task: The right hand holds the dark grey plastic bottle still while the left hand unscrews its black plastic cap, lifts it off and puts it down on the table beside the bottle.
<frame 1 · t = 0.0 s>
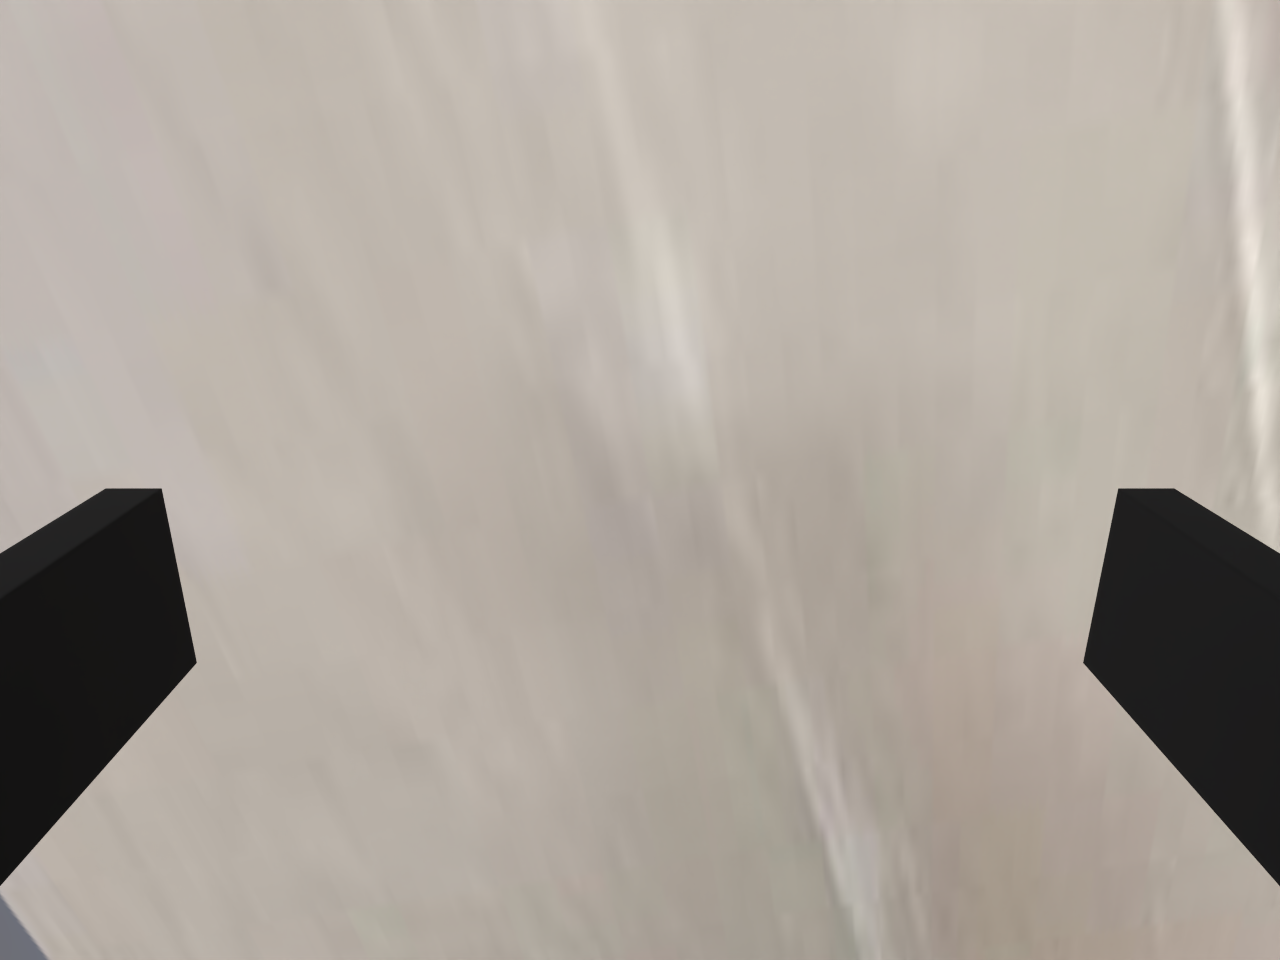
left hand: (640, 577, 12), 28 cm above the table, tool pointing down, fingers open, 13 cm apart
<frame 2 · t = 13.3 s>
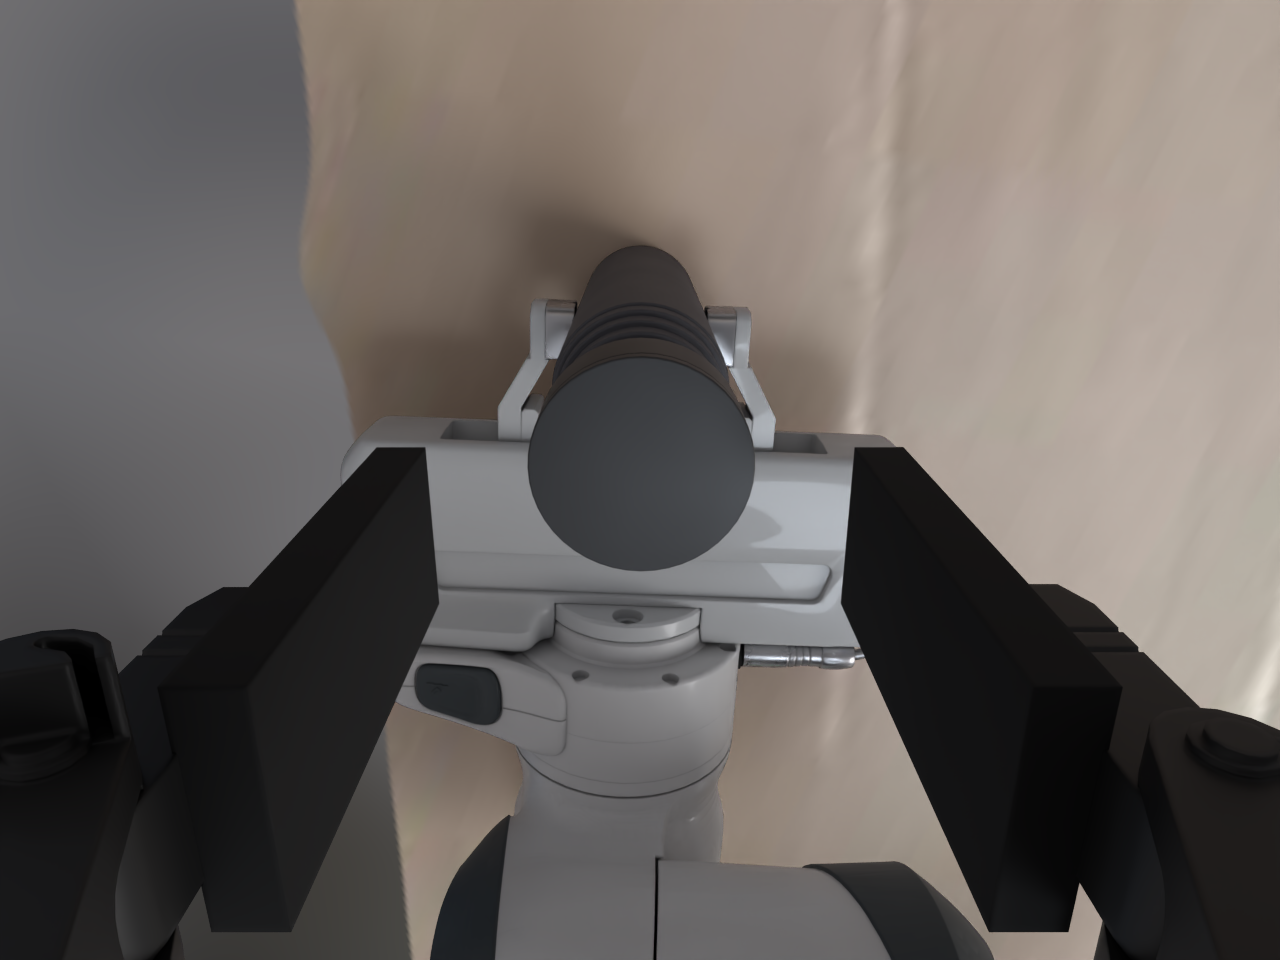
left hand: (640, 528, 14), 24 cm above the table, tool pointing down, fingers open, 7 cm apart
cap: (641, 463, 17), point 20 cm above the table, screwed on, not yet turned
bottle: (640, 301, 36), on the table, touching right hand
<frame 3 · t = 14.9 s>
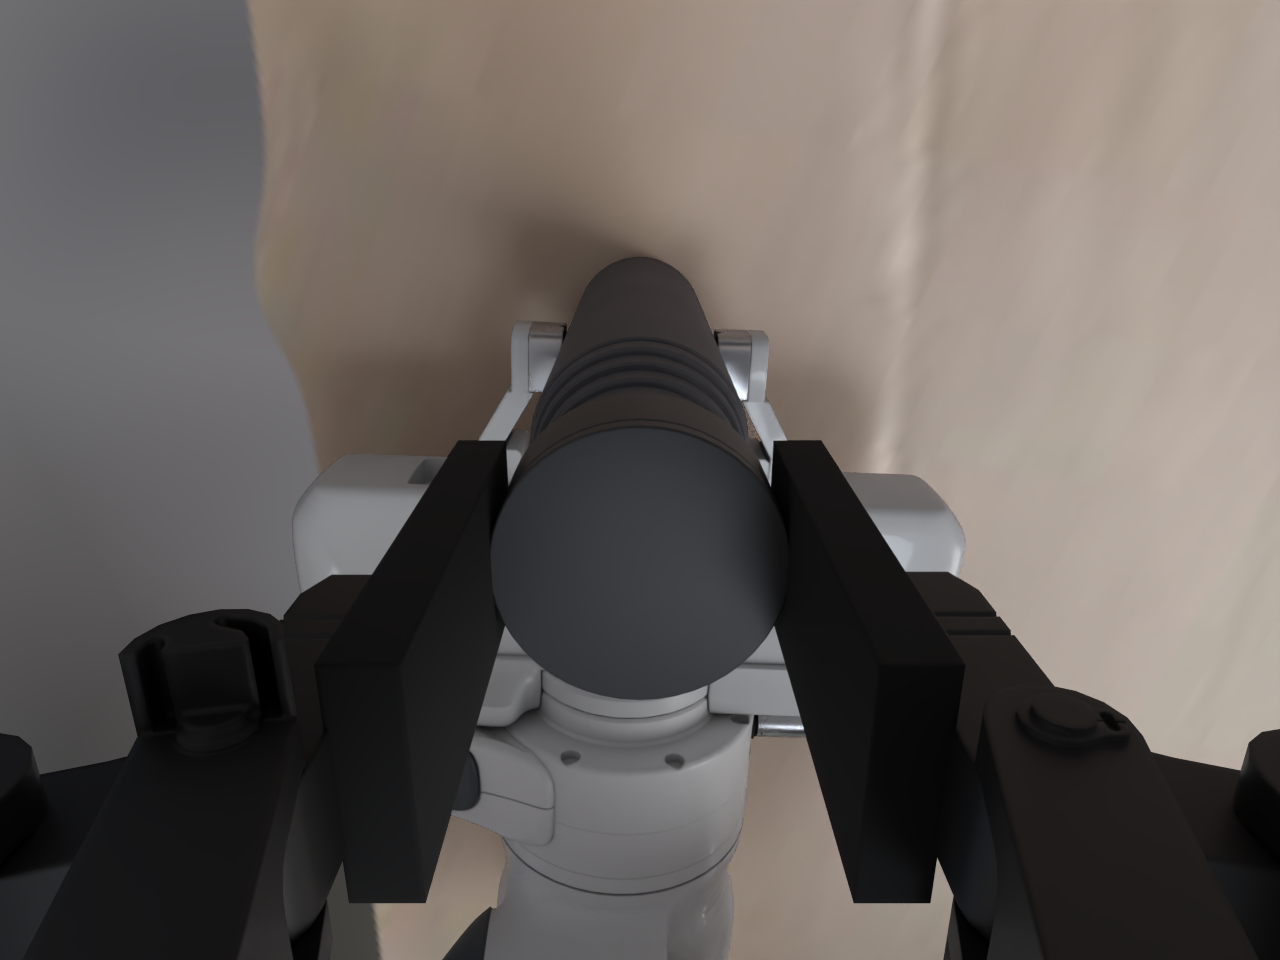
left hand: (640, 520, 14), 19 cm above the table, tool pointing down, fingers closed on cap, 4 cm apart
cap: (639, 562, 13), point 20 cm above the table, screwed on, not yet turned, touching left hand
bottle: (639, 320, 32), on the table, touching right hand
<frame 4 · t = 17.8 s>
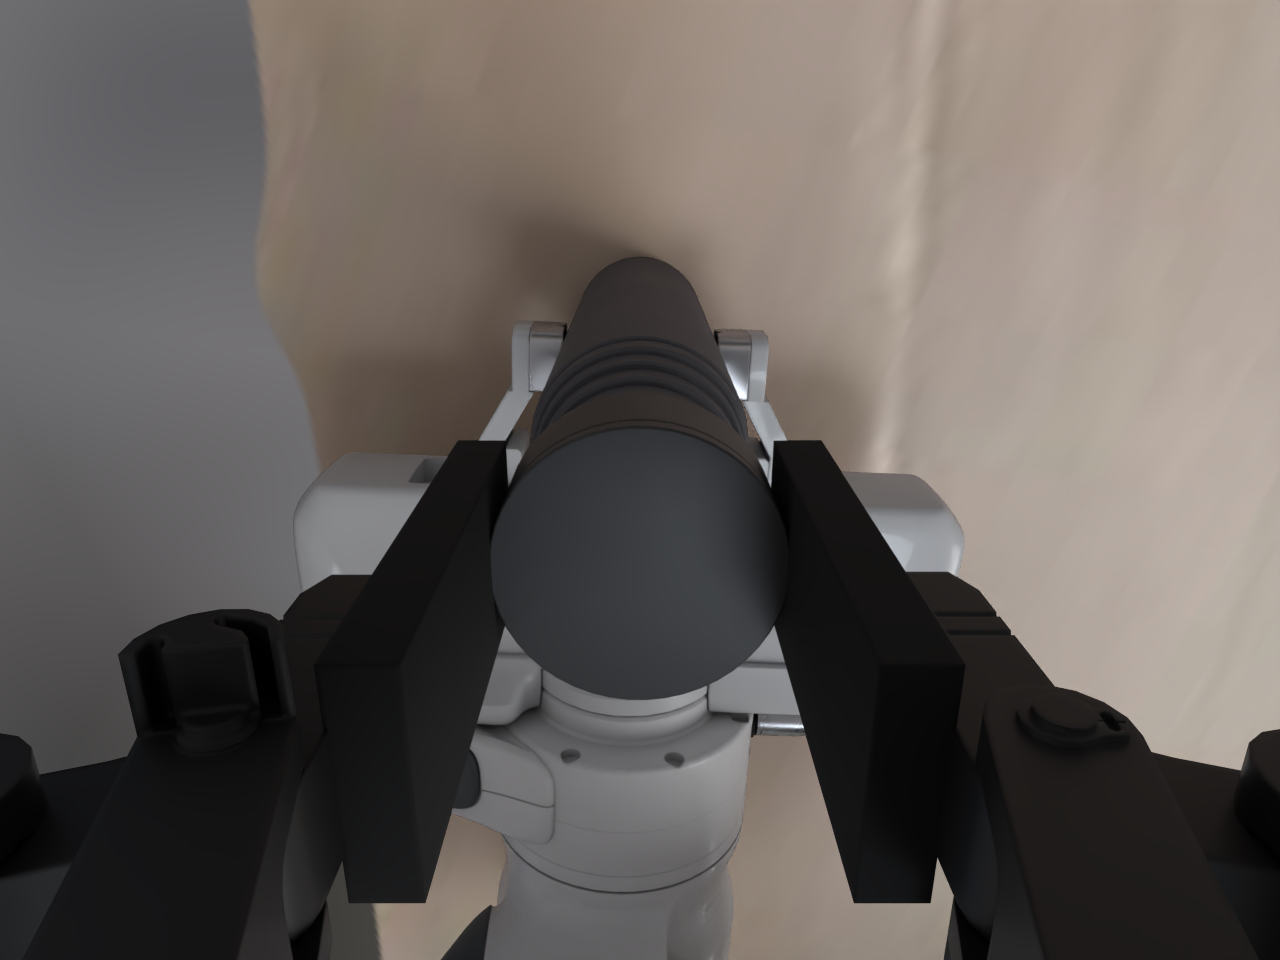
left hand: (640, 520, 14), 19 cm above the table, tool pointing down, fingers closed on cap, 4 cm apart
cap: (639, 562, 13), point 21 cm above the table, turned 78° so far, risen 0.1 cm, still on its thread, touching left hand
bottle: (639, 319, 32), on the table, touching right hand
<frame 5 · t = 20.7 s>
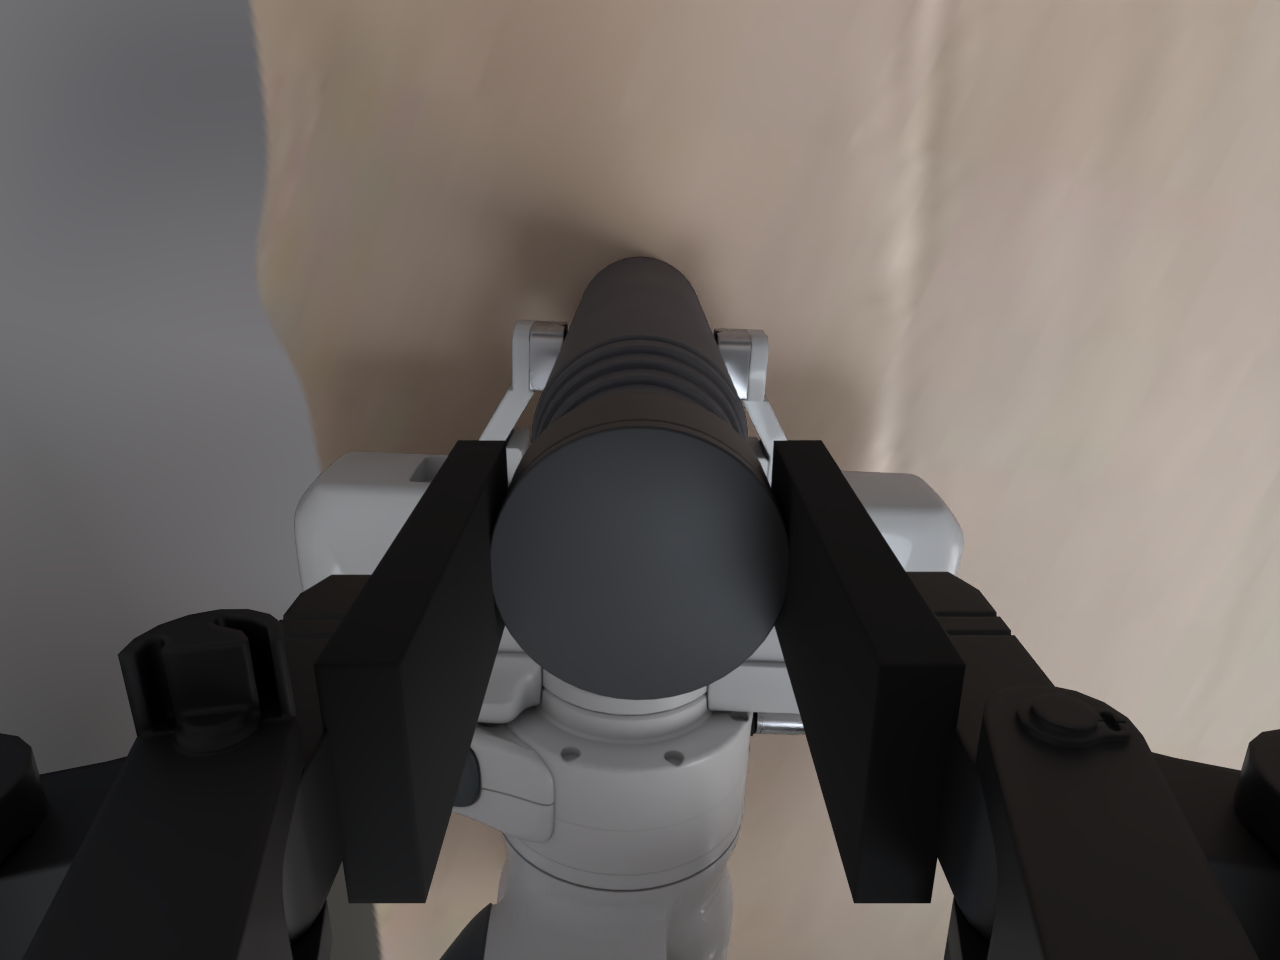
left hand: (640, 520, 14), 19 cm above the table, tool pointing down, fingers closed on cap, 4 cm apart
cap: (639, 562, 13), point 21 cm above the table, turned 156° so far, risen 0.2 cm, still on its thread, touching left hand
bottle: (639, 319, 32), on the table, touching right hand
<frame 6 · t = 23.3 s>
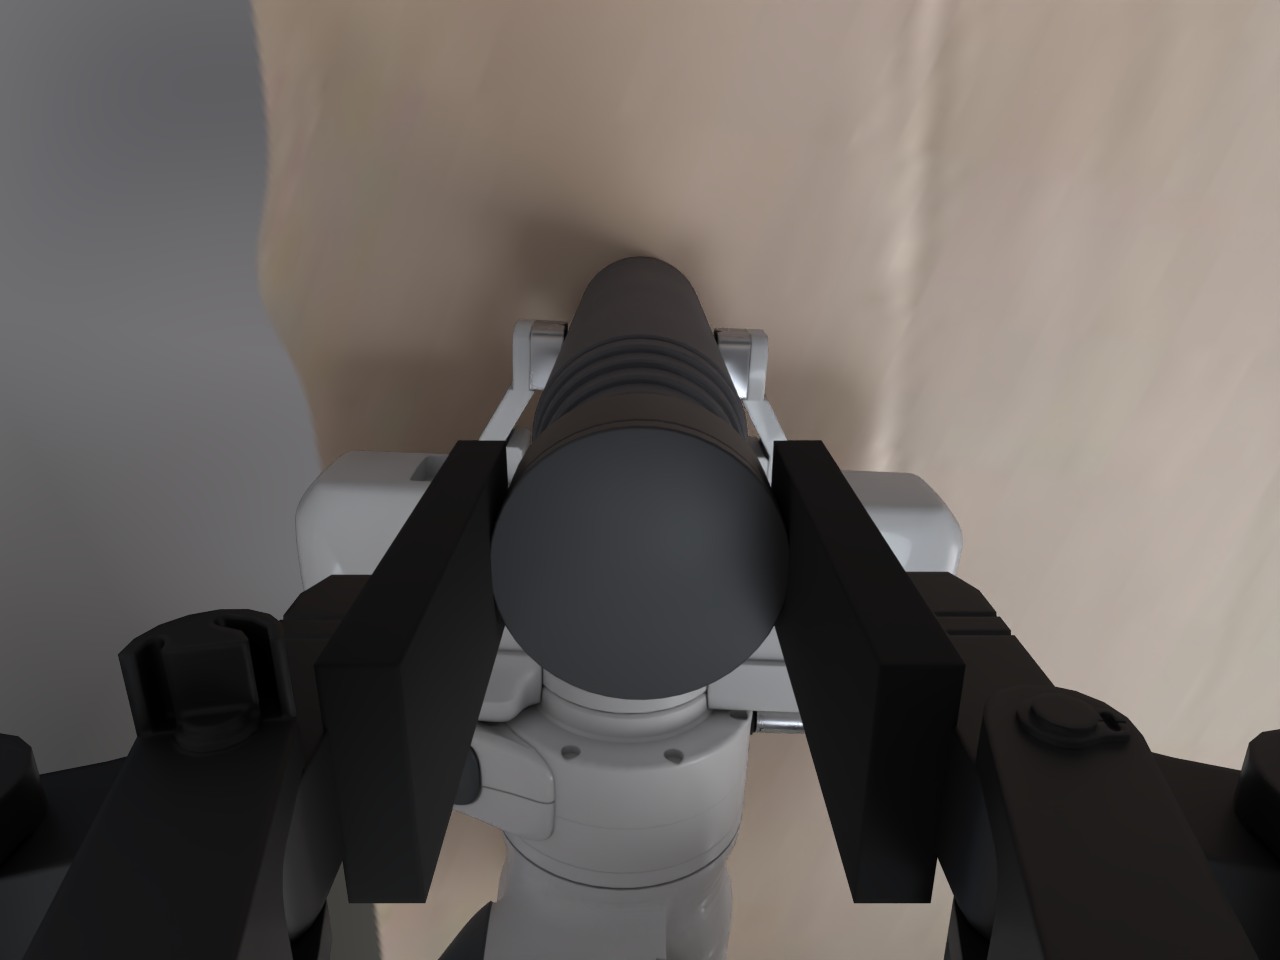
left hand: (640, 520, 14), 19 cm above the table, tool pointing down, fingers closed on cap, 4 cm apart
cap: (639, 562, 13), point 21 cm above the table, turned 235° so far, risen 0.2 cm, still on its thread, touching left hand
bottle: (639, 319, 32), on the table, touching right hand
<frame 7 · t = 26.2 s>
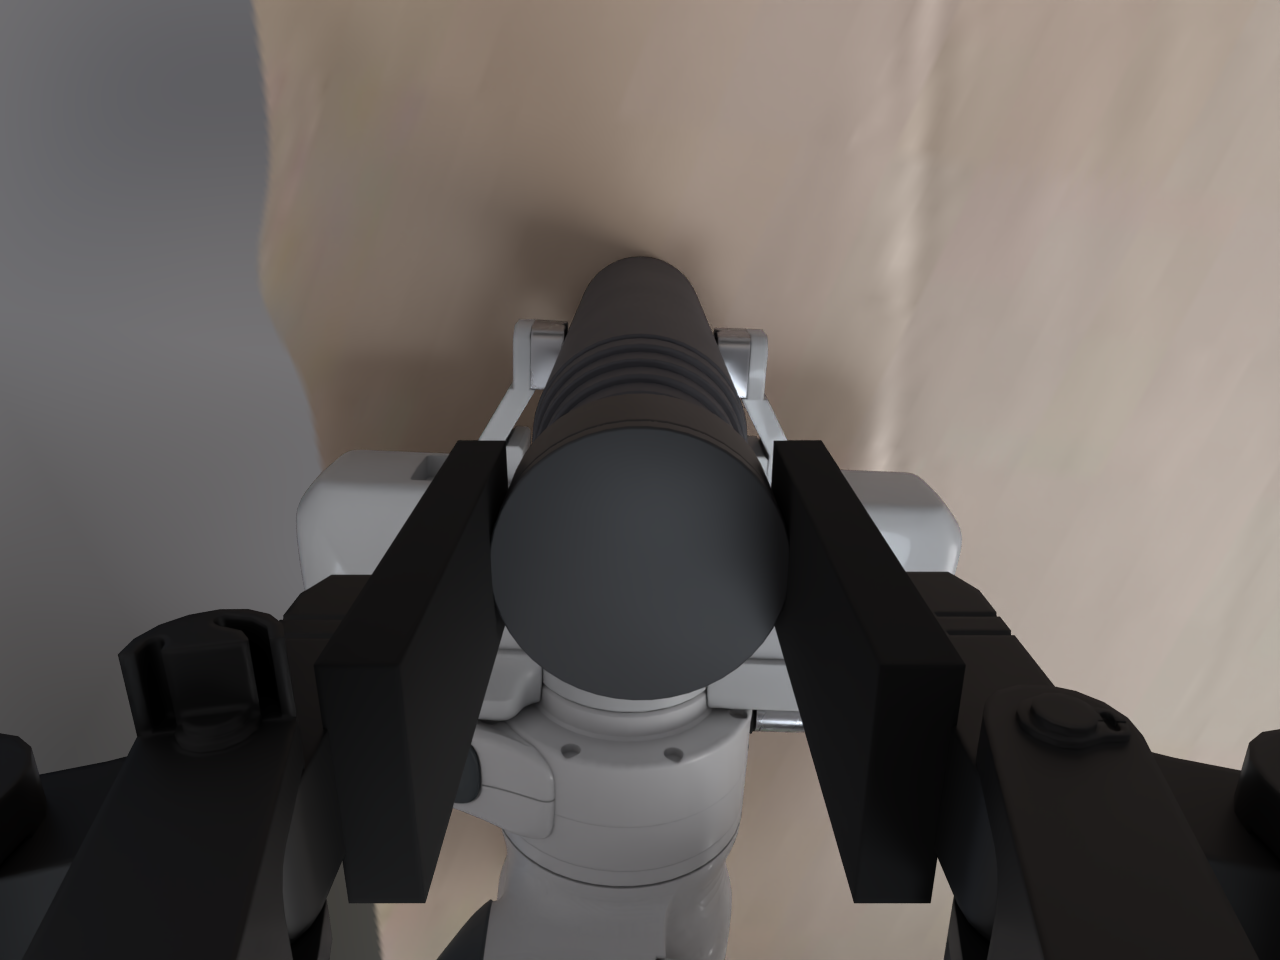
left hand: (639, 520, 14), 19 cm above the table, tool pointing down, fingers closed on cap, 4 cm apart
cap: (639, 563, 13), point 21 cm above the table, turned 313° so far, risen 0.3 cm, still on its thread, touching left hand
bottle: (640, 318, 32), on the table, touching right hand
when the left hand's fingers open (1 cm above the table, at t = 32.1 s): cap drops 1 cm, point 2 cm above the table.
when the right hand's fingers open (7 cm above the table, at t = 33.3 s): bottle stays where it is, on the table.
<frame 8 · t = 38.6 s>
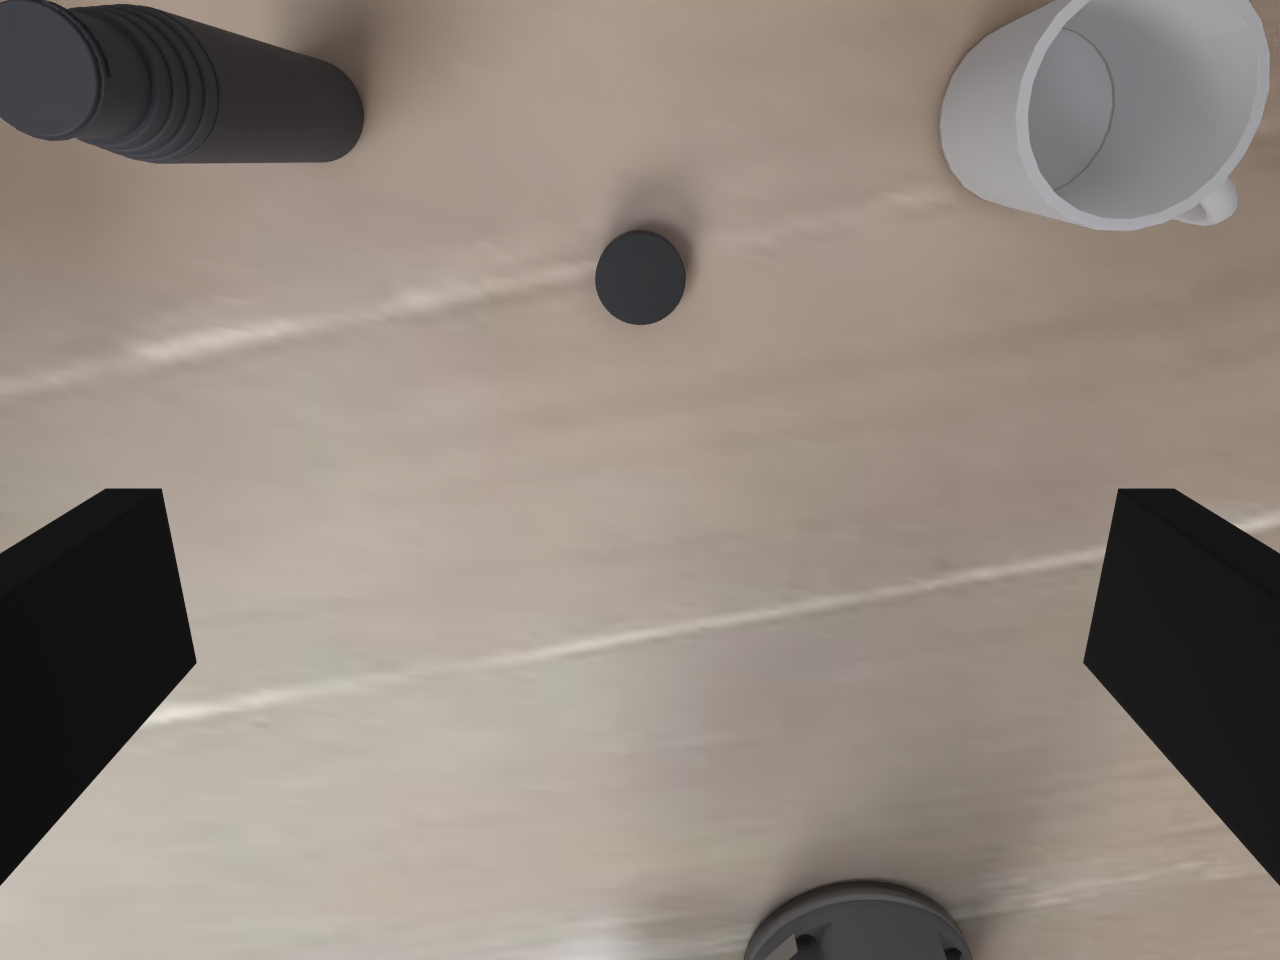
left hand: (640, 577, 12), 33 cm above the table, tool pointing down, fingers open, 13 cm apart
cap: (640, 279, 42), point 2 cm above the table, off its thread
mug: (1036, 130, 41), on the table
bottle: (315, 111, 41), on the table
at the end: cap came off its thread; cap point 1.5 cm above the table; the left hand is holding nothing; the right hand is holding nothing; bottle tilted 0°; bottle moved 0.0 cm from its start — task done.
